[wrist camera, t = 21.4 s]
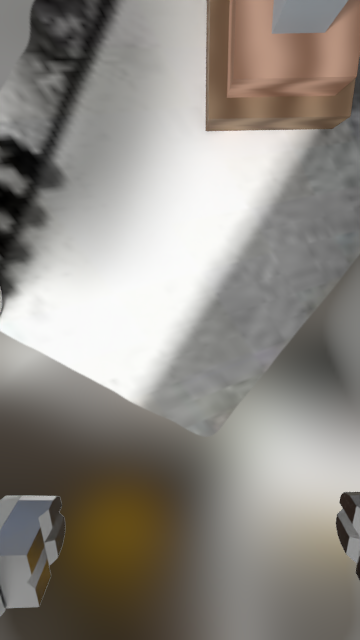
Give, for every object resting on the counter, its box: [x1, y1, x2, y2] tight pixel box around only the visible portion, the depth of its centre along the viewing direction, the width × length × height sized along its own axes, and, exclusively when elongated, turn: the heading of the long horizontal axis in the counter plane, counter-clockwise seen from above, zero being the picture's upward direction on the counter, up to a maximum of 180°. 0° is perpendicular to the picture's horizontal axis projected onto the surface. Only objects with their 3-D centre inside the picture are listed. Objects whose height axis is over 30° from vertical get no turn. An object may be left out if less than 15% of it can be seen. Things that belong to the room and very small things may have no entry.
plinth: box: [206, 0, 360, 131], centre depth 30 cm, size 16×16×8 cm
